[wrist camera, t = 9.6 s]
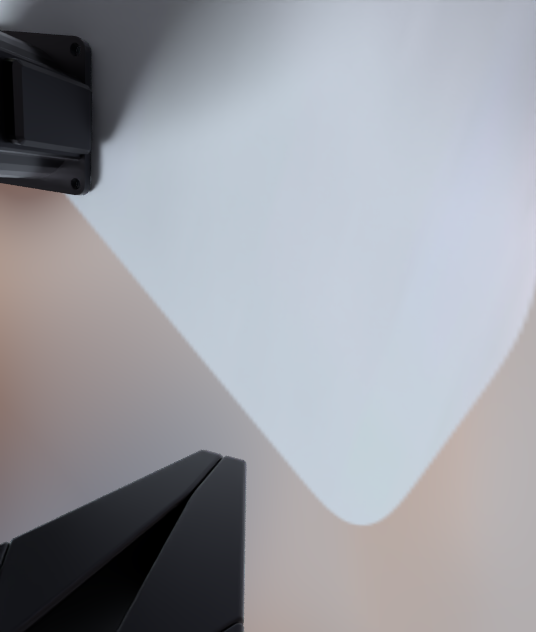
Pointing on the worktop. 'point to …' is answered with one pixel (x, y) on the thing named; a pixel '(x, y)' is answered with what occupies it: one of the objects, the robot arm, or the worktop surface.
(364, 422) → the worktop surface
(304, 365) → the worktop surface
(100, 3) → the worktop surface
